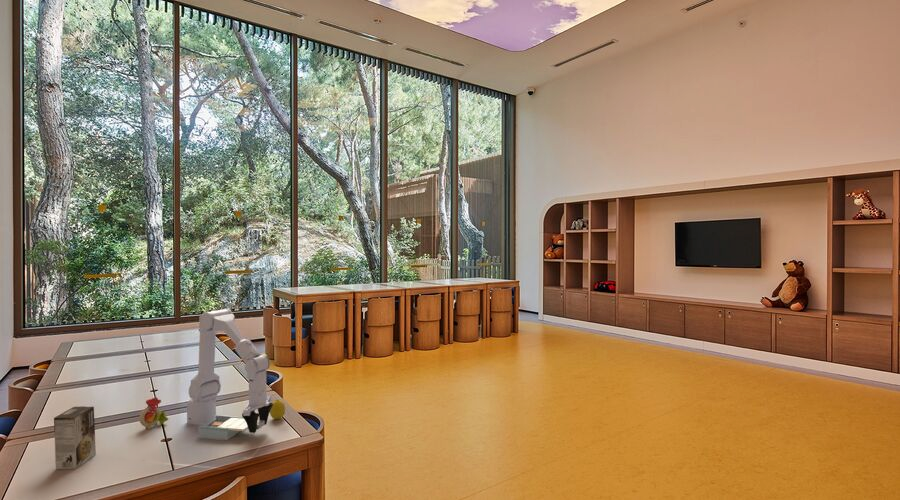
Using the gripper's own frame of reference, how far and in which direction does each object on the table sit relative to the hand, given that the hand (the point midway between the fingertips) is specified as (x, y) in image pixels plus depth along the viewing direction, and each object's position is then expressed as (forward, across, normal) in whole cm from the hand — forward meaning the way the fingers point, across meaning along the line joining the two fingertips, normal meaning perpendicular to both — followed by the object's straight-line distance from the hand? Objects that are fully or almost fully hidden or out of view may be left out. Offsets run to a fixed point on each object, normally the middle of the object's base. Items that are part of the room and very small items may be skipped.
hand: (258, 428), depth 167 cm
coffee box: (+3, -26, +46) cm, 53 cm away
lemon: (+3, +15, +1) cm, 15 cm away
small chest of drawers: (-1, 0, +6) cm, 6 cm away
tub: (+3, 0, +14) cm, 14 cm away
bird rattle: (+3, +2, +43) cm, 43 cm away
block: (+3, +2, +17) cm, 17 cm away
